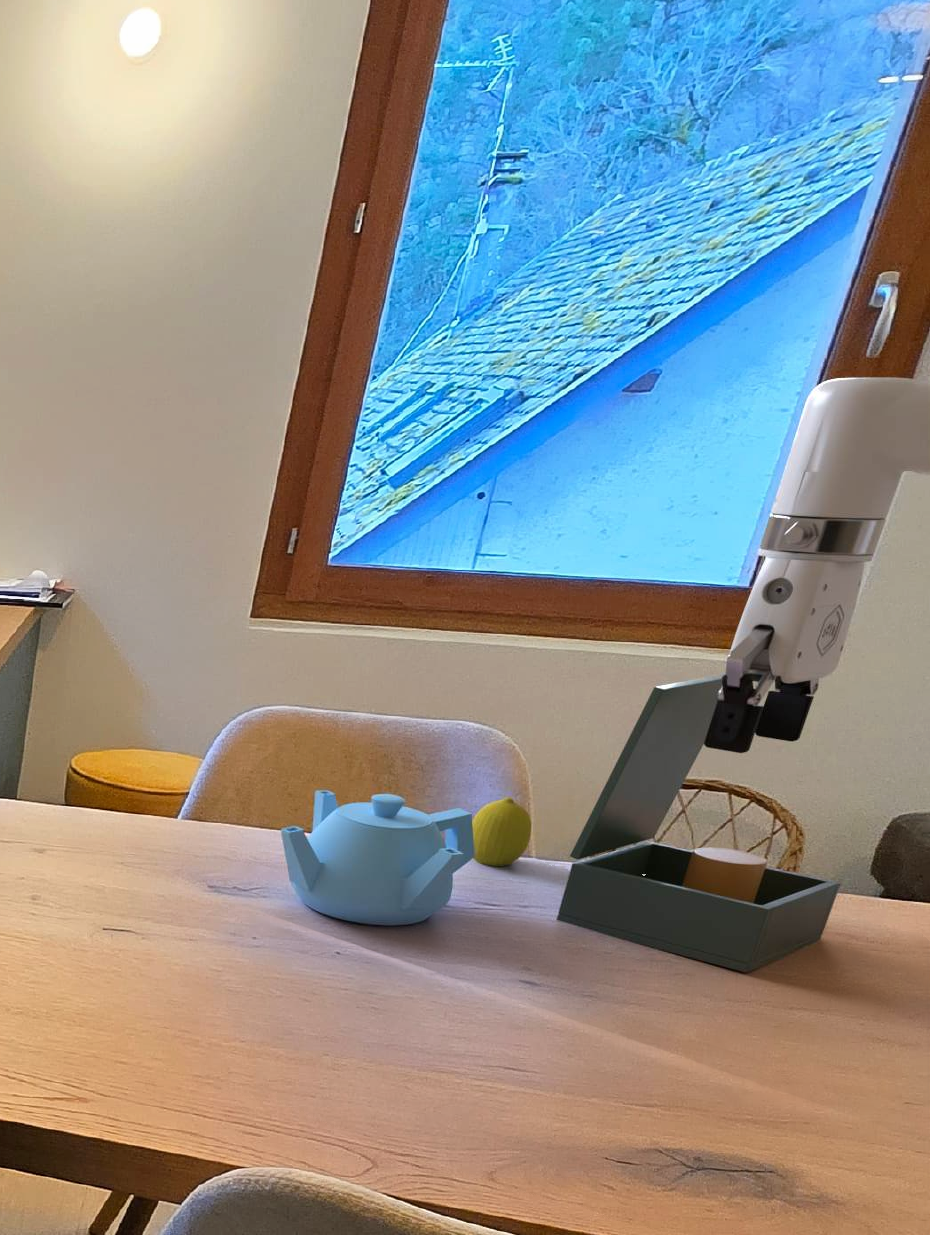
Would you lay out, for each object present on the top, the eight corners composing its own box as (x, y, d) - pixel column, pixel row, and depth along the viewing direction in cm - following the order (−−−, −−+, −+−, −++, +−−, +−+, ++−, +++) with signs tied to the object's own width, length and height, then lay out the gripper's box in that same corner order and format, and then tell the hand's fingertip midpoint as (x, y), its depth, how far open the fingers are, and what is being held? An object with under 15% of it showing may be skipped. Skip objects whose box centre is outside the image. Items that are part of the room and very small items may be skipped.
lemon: (530, 879, 146) (551, 805, 143) (476, 880, 146) (496, 806, 143) (501, 861, 151) (520, 789, 148) (448, 862, 151) (467, 790, 148)
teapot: (438, 947, 128) (468, 833, 123) (262, 912, 136) (284, 804, 131) (464, 897, 139) (493, 791, 134) (300, 867, 147) (322, 766, 142)
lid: (740, 675, 130) (731, 672, 130) (663, 689, 123) (654, 686, 123) (654, 838, 138) (645, 834, 139) (577, 860, 131) (569, 856, 132)
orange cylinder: (753, 932, 129) (778, 858, 126) (726, 942, 126) (751, 867, 124) (686, 915, 133) (709, 844, 130) (658, 925, 130) (681, 852, 128)
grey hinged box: (819, 943, 129) (841, 882, 126) (746, 973, 121) (768, 909, 119) (631, 897, 141) (648, 840, 139) (555, 921, 134) (572, 862, 131)
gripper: (829, 547, 110) (756, 763, 117) (917, 540, 119) (844, 742, 125) (719, 539, 116) (655, 746, 123) (810, 533, 124) (746, 727, 131)
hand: (751, 744), depth 124 cm, fingers open, 9 cm apart
